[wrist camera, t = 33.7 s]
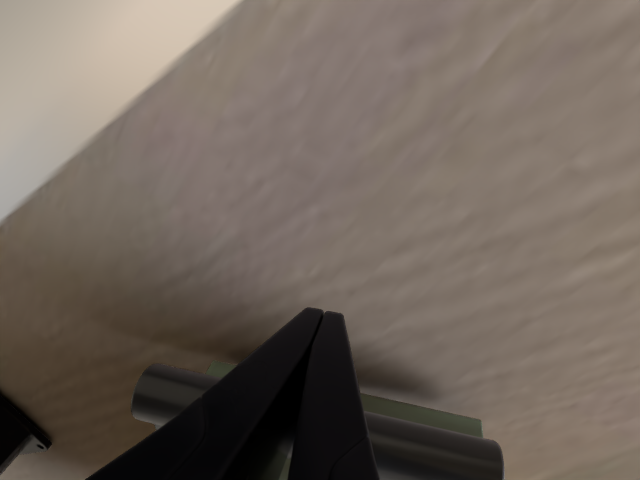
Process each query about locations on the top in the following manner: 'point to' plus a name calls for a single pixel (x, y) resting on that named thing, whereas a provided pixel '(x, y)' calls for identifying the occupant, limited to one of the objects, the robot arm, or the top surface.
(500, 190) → the top surface
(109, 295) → the top surface
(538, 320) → the top surface
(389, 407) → the drawer
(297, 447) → the robot arm
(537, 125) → the top surface
